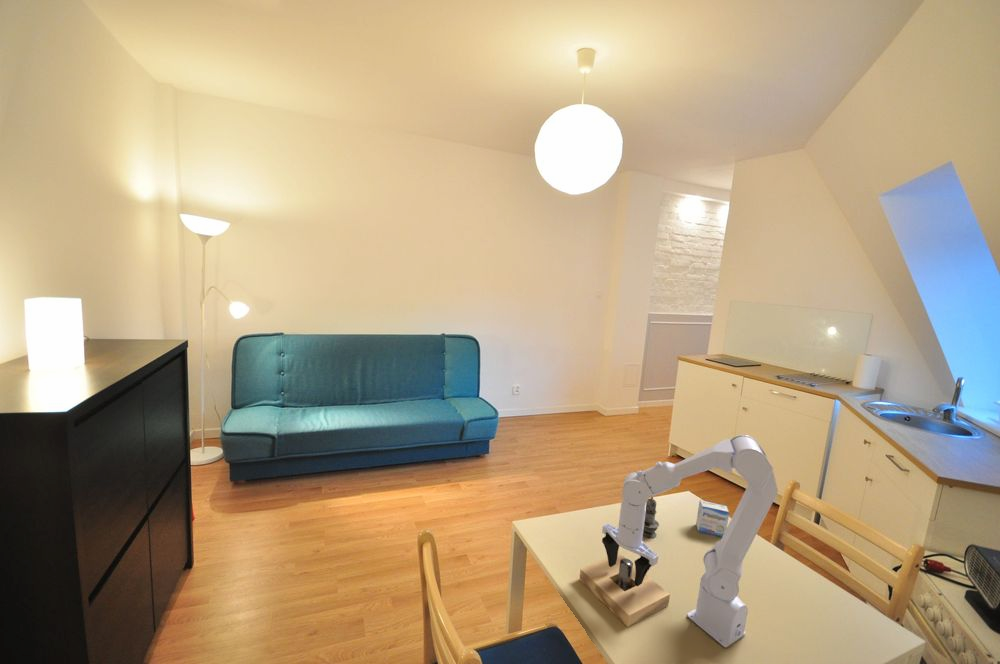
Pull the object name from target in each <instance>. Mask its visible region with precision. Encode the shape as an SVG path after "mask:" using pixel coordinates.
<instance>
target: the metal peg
mask: <svg viewBox="0 0 1000 664" xmlns="http://www.w3.org/2000/svg"><path fill="white" fill-rule="evenodd" d="M633 565H634V563H633V561H632V560H630V559H628V558H626V557H625V558H623V559H621V560H620V568H619V575H618V583H617V585H618V586H619V587H620V588H621V589H622V590H623V591H627V590H629V589H630V584H631V576H632V569H633Z"/></svg>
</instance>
